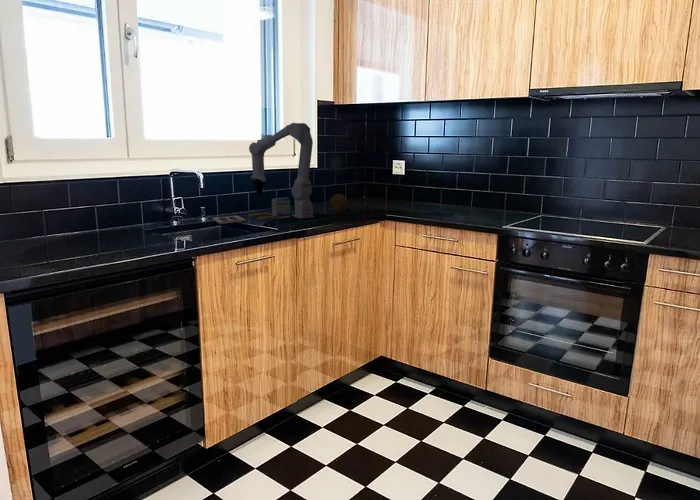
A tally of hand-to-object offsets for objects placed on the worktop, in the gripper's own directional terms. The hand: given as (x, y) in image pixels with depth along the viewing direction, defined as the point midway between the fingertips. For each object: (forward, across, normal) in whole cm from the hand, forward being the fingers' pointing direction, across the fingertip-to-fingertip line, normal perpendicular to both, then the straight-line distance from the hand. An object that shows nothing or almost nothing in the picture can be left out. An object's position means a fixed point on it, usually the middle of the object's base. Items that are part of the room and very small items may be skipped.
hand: (259, 194), depth 249 cm
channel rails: (+9, +12, -3) cm, 16 cm away
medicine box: (+10, +12, +6) cm, 17 cm away
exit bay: (+9, +12, +5) cm, 16 cm away
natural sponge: (+10, +23, +33) cm, 41 cm away
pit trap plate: (+9, +12, -20) cm, 25 cm away
